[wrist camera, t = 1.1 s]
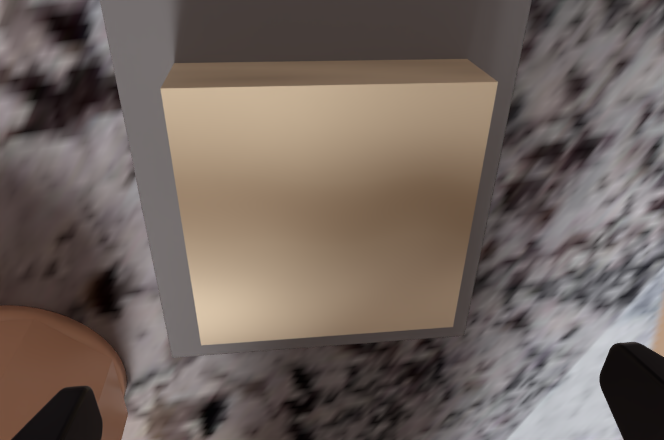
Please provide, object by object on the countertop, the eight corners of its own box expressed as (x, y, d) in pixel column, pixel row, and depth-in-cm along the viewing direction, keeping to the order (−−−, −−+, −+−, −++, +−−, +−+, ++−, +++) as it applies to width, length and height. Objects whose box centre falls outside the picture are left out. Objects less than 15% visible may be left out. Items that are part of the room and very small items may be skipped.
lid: (433, 284, 17) (452, 326, 15) (207, 298, 16) (201, 345, 14) (466, 58, 13) (497, 82, 11) (174, 63, 12) (160, 88, 11)
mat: (459, 325, 19) (464, 335, 18) (174, 346, 17) (172, 357, 17) (531, -50, 12) (541, -48, 12) (95, -54, 11) (89, -52, 11)
